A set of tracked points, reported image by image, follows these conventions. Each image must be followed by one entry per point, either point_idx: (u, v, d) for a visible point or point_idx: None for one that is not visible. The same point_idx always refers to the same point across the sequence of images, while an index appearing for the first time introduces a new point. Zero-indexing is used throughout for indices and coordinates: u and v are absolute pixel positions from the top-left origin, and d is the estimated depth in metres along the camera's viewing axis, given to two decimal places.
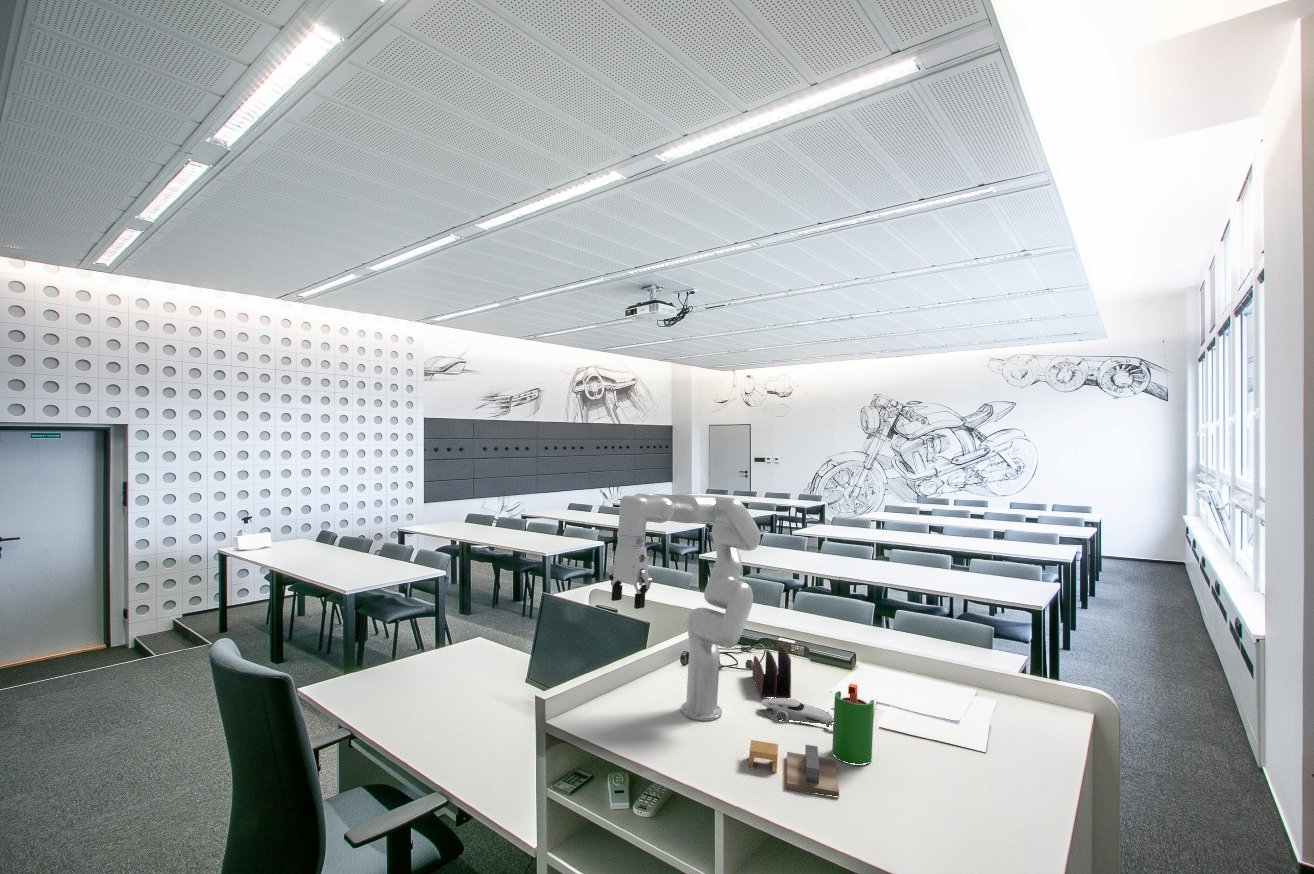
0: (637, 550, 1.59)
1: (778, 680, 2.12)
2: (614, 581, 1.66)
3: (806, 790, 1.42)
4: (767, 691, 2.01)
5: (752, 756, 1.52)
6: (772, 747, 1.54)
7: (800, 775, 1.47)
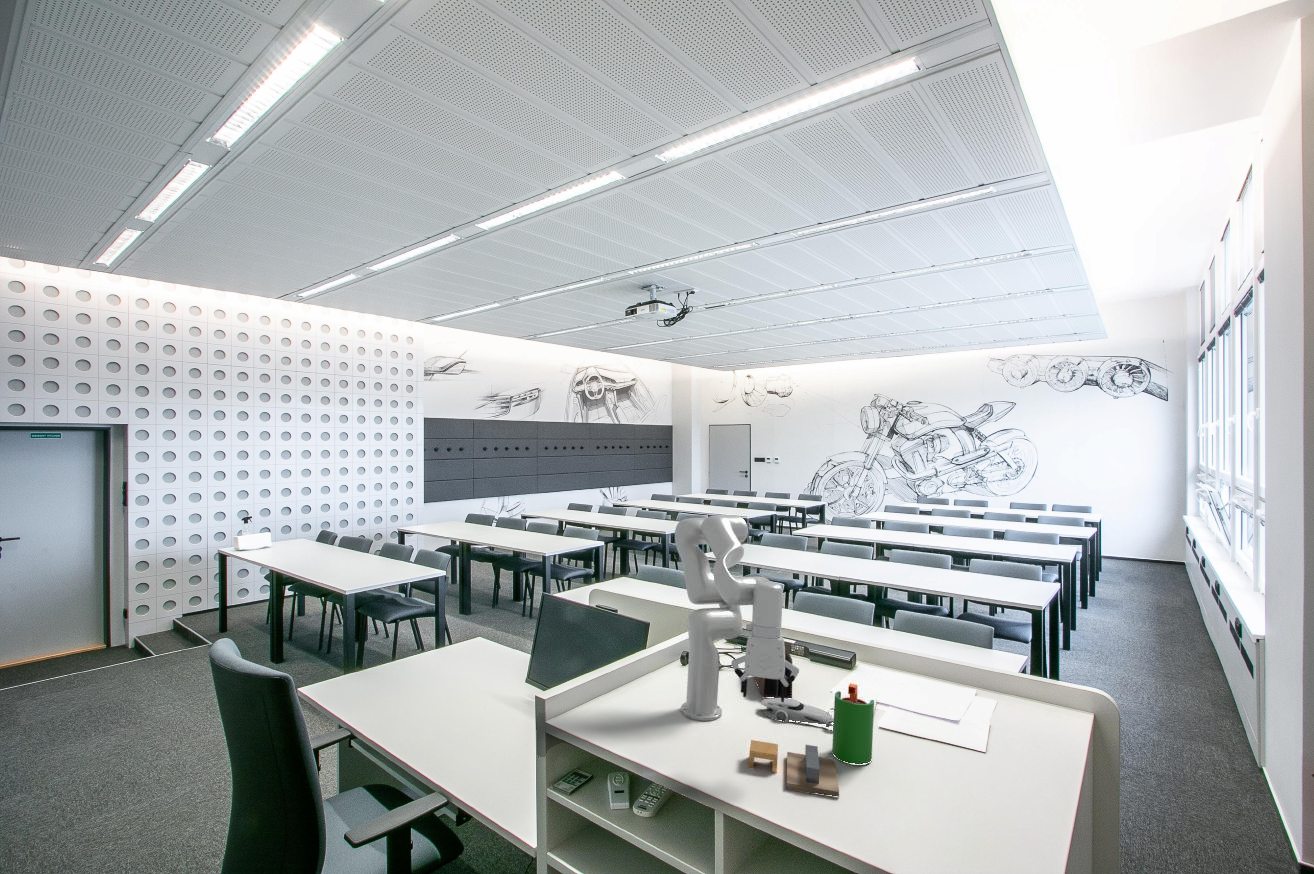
0: None
1: (779, 680, 2.12)
2: None
3: (806, 790, 1.42)
4: (768, 691, 2.01)
5: (752, 756, 1.52)
6: (772, 747, 1.54)
7: (800, 775, 1.47)
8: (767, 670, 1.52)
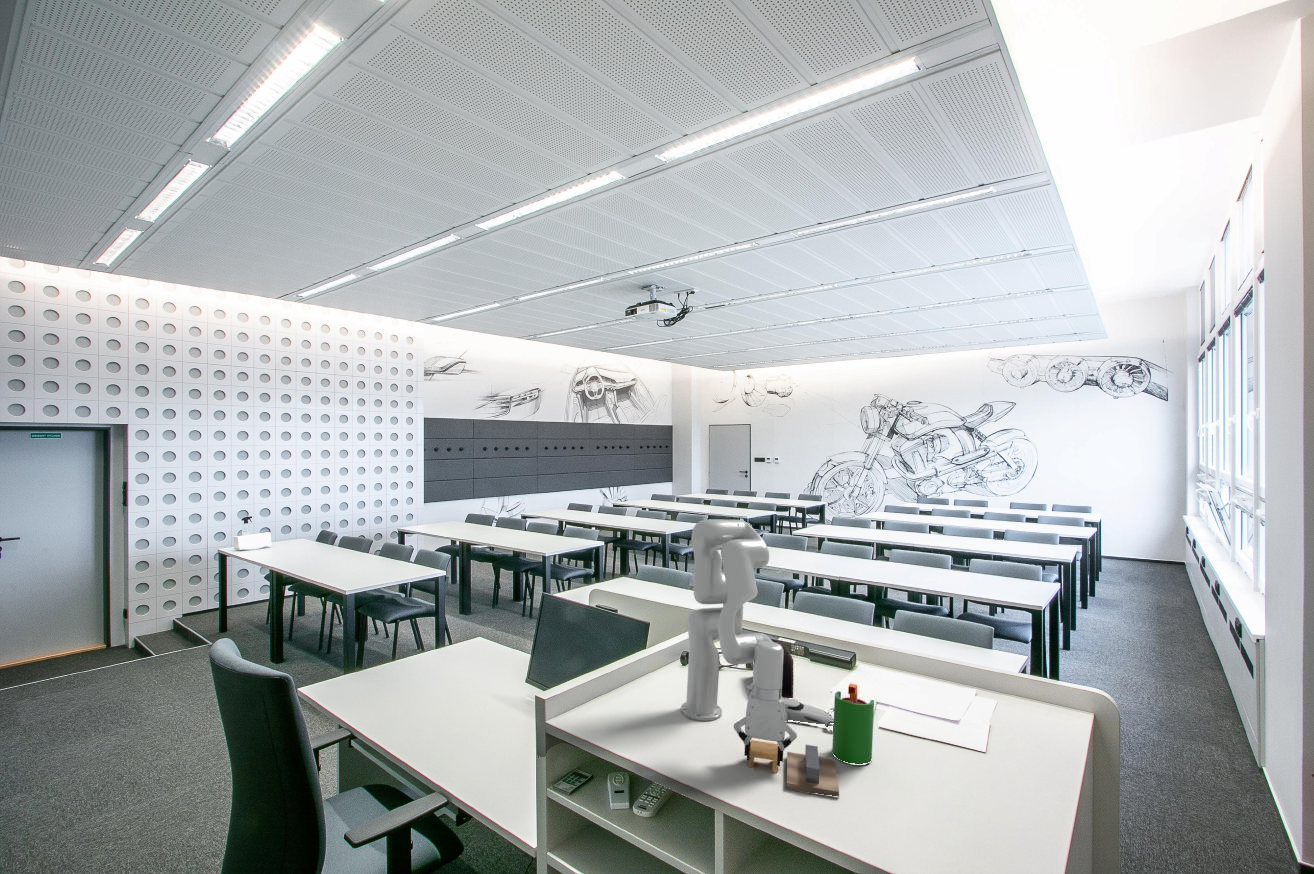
0: None
1: None
2: None
3: (806, 790, 1.42)
4: None
5: (752, 756, 1.52)
6: (772, 747, 1.54)
7: (800, 775, 1.47)
8: (767, 732, 1.51)
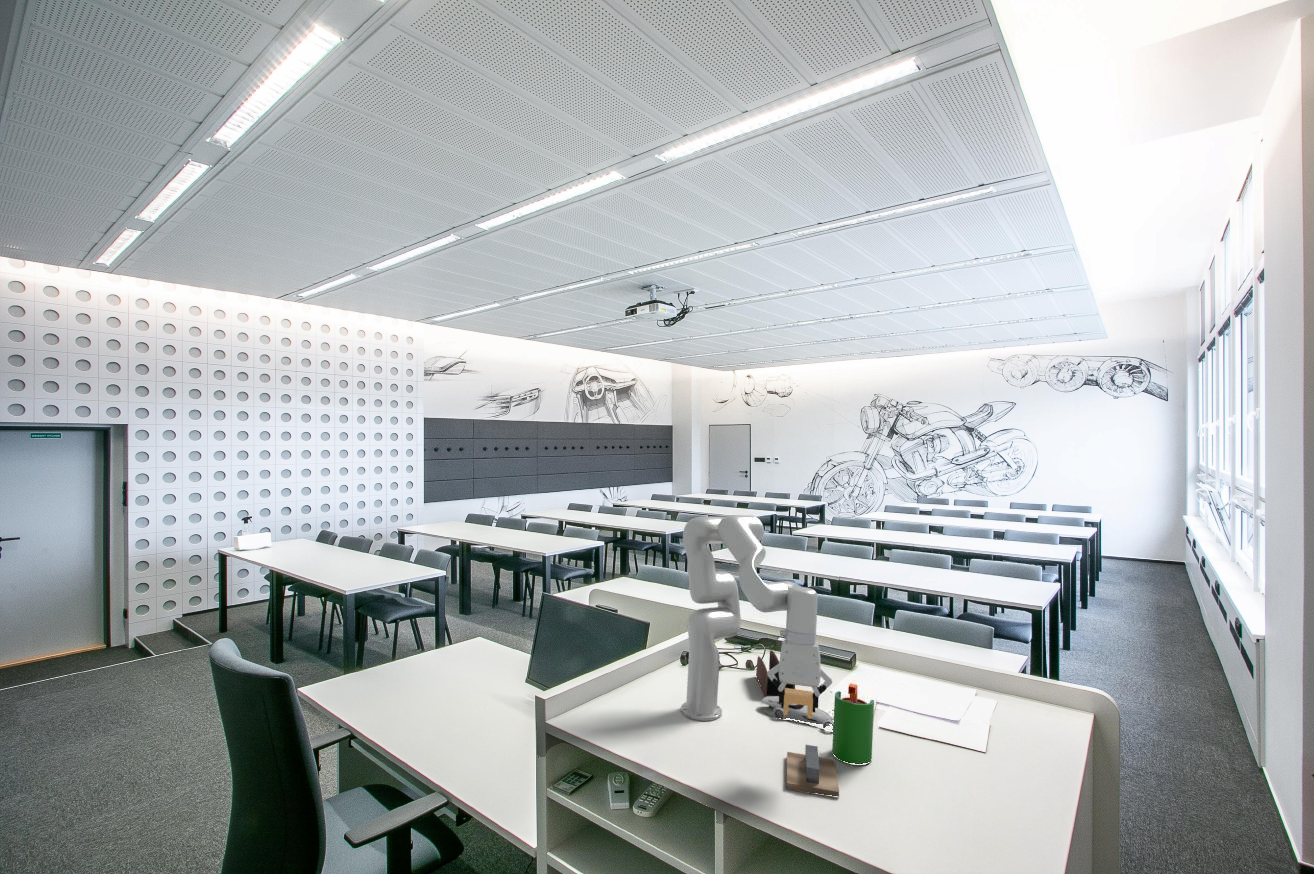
0: None
1: None
2: None
3: (806, 790, 1.42)
4: (771, 691, 2.01)
5: (787, 702, 1.49)
6: (807, 693, 1.52)
7: (800, 775, 1.47)
8: (802, 677, 1.49)
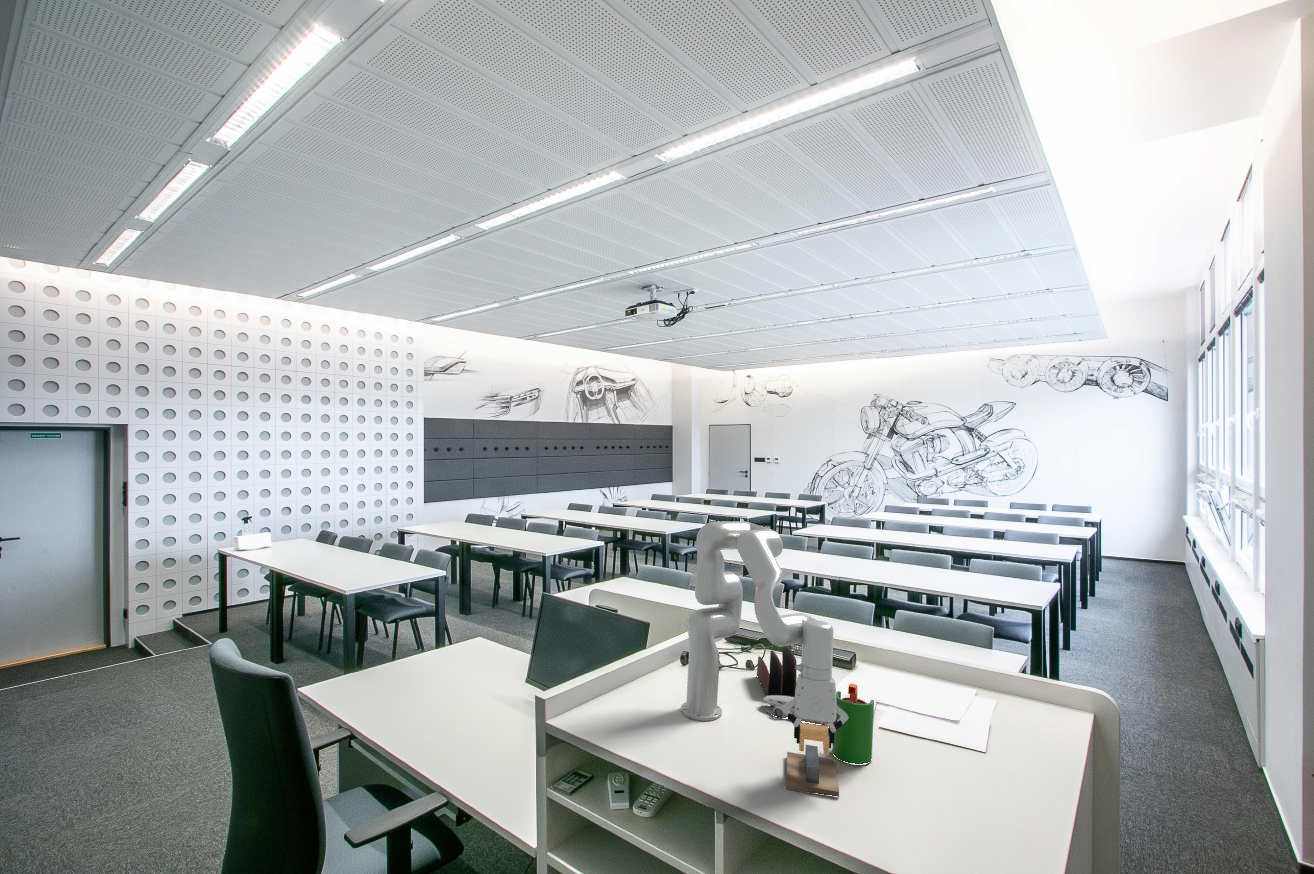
0: None
1: (783, 680, 2.11)
2: None
3: (806, 790, 1.42)
4: (772, 692, 2.01)
5: (803, 738, 1.47)
6: (823, 729, 1.50)
7: (800, 775, 1.47)
8: (818, 713, 1.47)
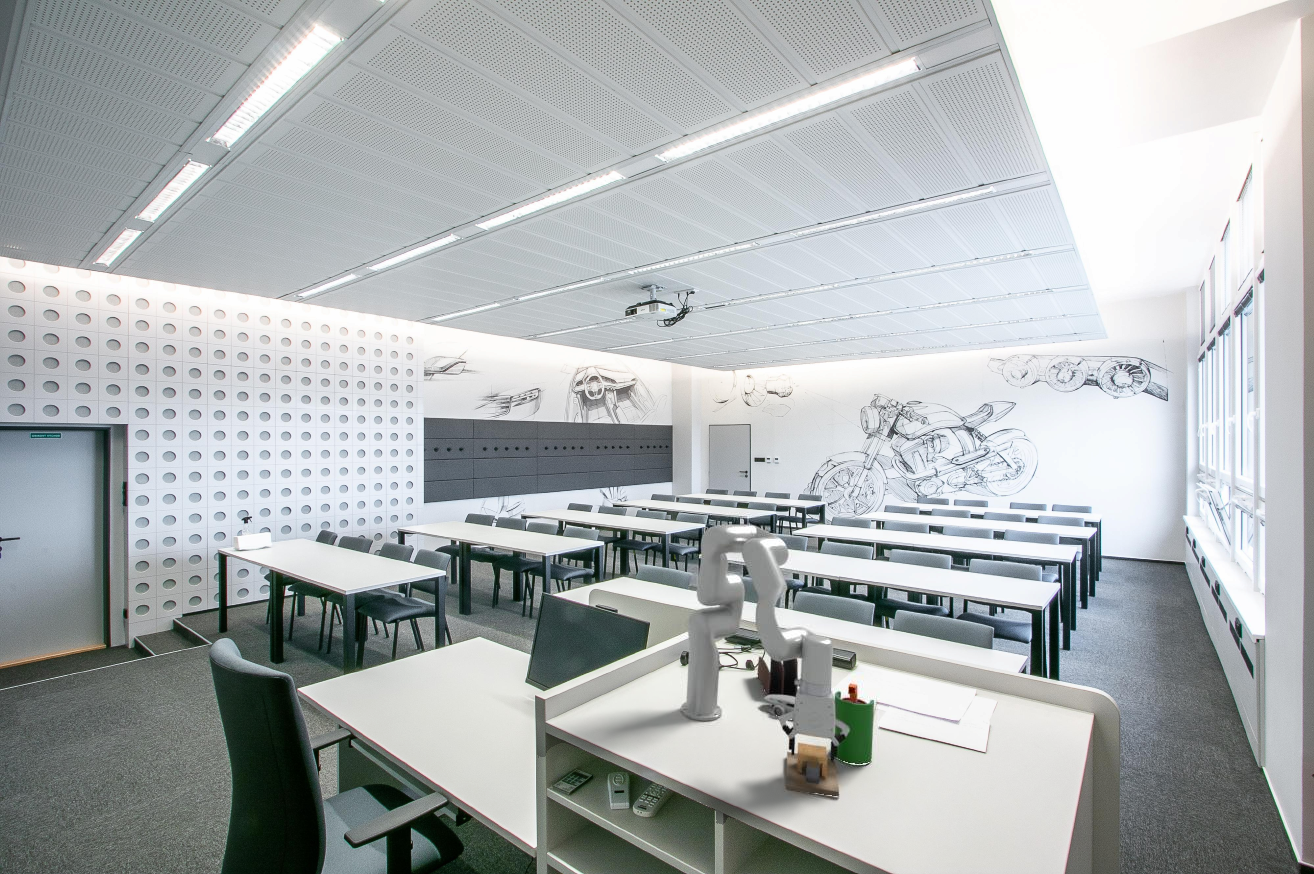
0: None
1: (783, 680, 2.11)
2: None
3: (806, 790, 1.42)
4: (774, 692, 2.01)
5: (801, 759, 1.47)
6: (821, 750, 1.50)
7: (800, 775, 1.47)
8: (817, 729, 1.47)
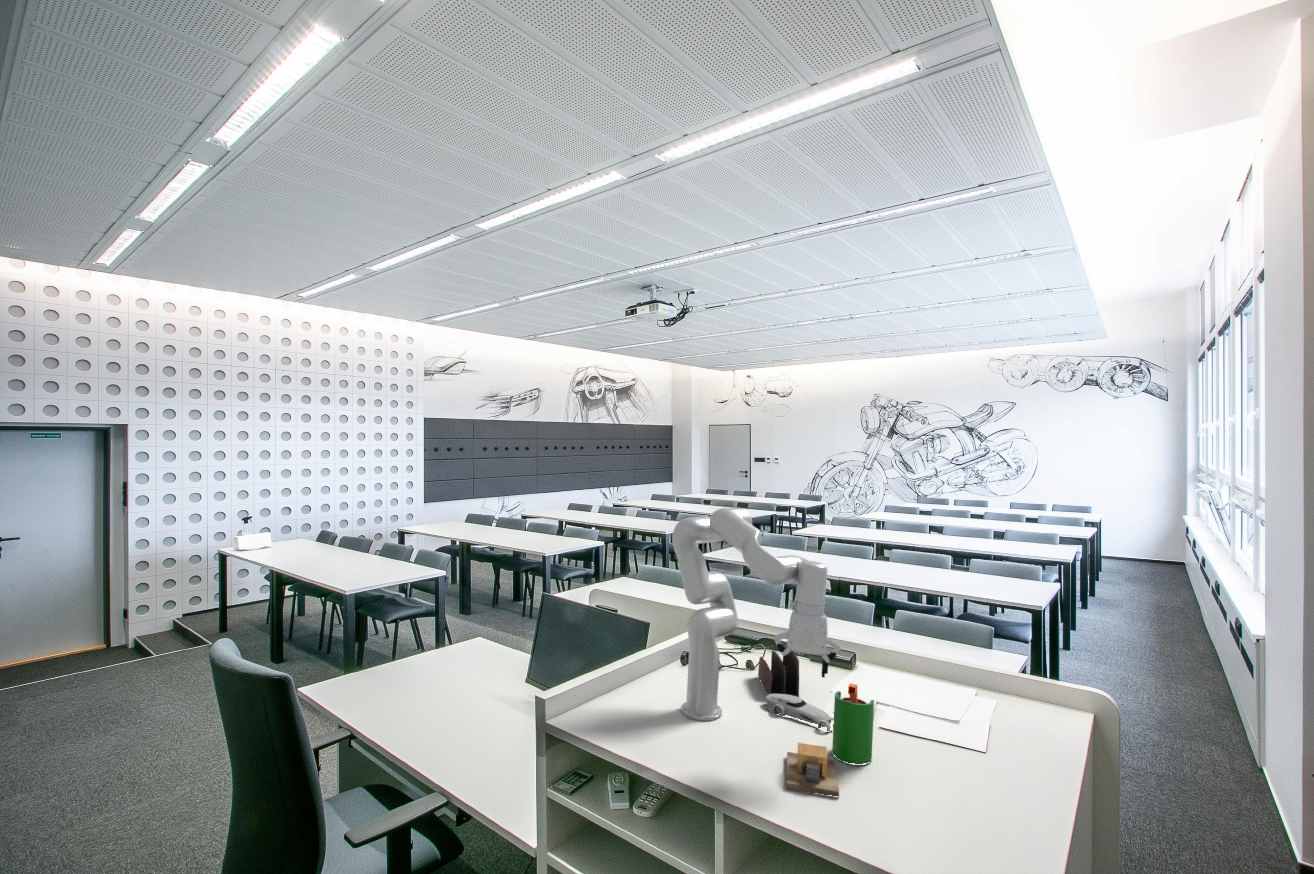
0: None
1: None
2: None
3: (806, 790, 1.42)
4: (775, 692, 2.01)
5: (801, 759, 1.47)
6: (821, 750, 1.50)
7: (800, 775, 1.47)
8: (809, 646, 1.56)
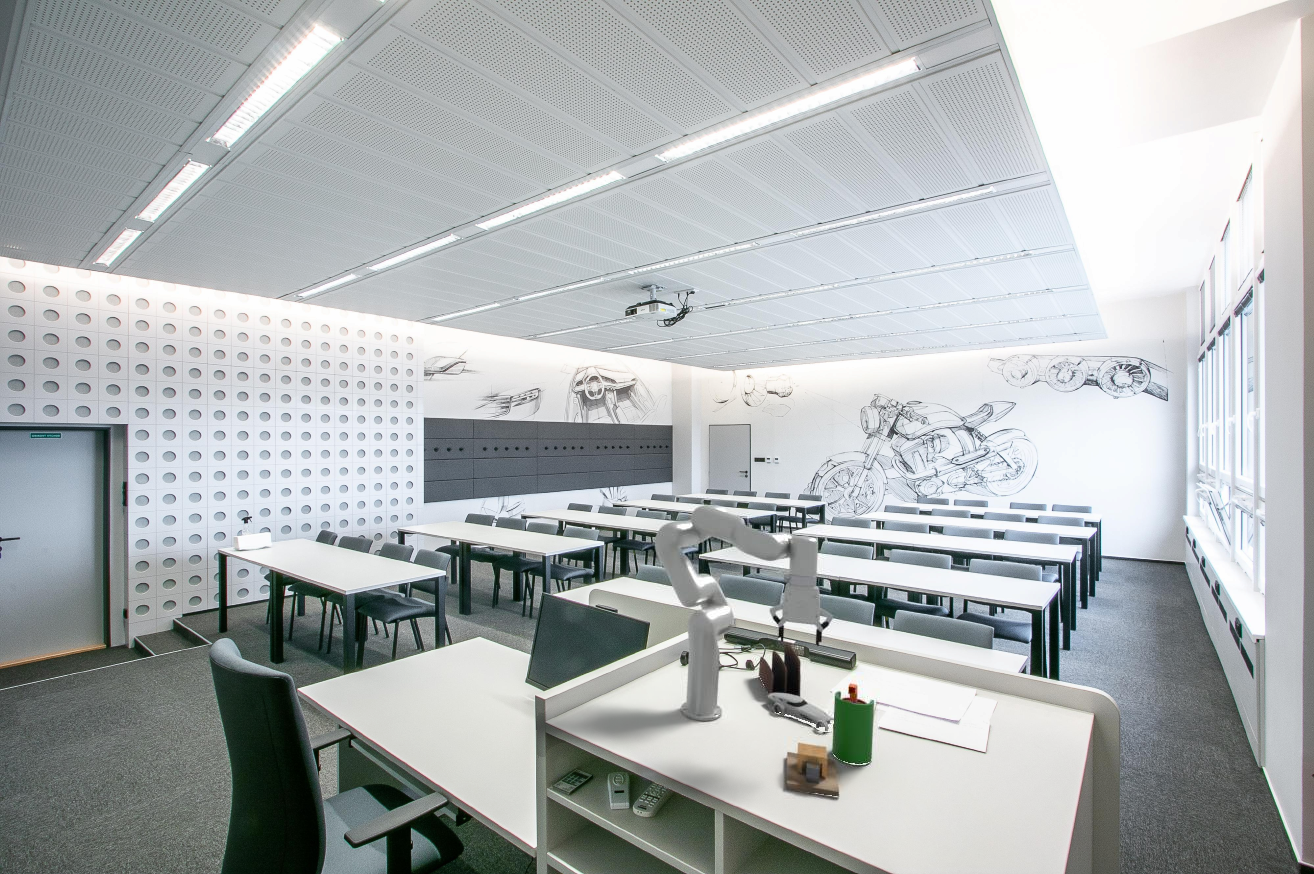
0: None
1: None
2: None
3: (806, 790, 1.42)
4: (776, 692, 2.01)
5: (801, 759, 1.47)
6: (821, 750, 1.50)
7: (800, 775, 1.47)
8: (804, 616, 1.64)
